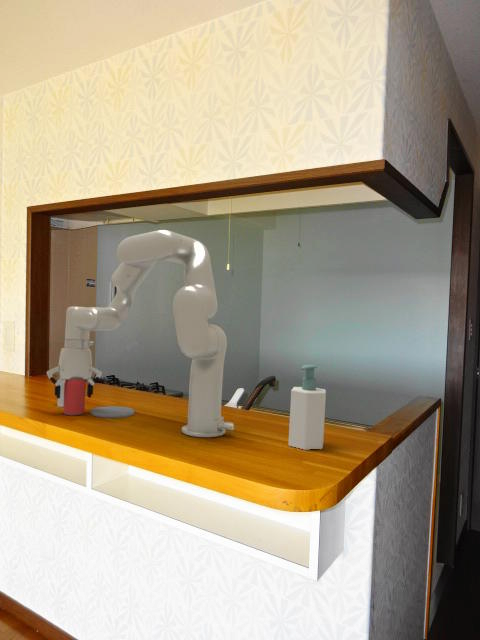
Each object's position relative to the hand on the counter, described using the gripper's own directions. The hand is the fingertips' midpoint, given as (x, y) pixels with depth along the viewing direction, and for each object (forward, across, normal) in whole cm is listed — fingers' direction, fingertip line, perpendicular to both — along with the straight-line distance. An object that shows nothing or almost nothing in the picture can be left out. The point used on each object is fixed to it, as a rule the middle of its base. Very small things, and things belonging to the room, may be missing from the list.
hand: (73, 397), depth 160 cm
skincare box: (+6, 0, -14) cm, 15 cm away
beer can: (+6, 0, 0) cm, 6 cm away
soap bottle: (+4, -52, +56) cm, 77 cm away
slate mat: (+5, -12, +2) cm, 14 cm away
